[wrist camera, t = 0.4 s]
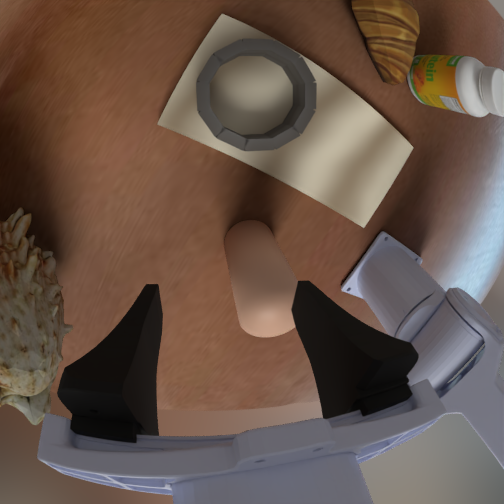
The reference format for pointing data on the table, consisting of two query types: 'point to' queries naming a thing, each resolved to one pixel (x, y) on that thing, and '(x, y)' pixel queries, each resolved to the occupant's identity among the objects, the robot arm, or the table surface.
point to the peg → (260, 279)
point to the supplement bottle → (457, 84)
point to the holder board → (286, 119)
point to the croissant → (389, 35)
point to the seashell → (28, 320)
